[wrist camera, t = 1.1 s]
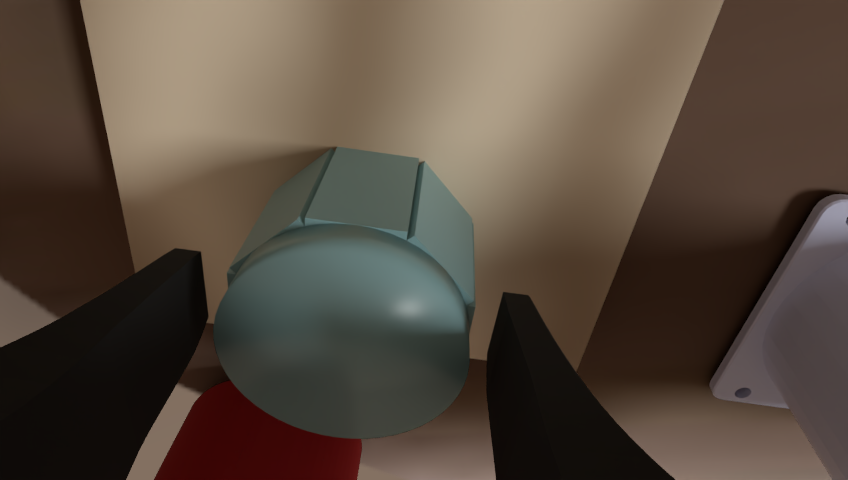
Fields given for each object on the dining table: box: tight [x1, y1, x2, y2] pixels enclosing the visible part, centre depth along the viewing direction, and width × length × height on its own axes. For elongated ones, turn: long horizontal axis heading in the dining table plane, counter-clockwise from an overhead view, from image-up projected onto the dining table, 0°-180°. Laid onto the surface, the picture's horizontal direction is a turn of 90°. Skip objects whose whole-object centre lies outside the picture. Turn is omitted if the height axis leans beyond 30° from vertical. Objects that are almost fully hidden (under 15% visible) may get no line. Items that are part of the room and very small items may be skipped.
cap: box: [213, 147, 476, 439], centre depth 14 cm, size 6×6×4 cm
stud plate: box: [80, 0, 724, 371], centre depth 12 cm, size 14×18×4 cm
